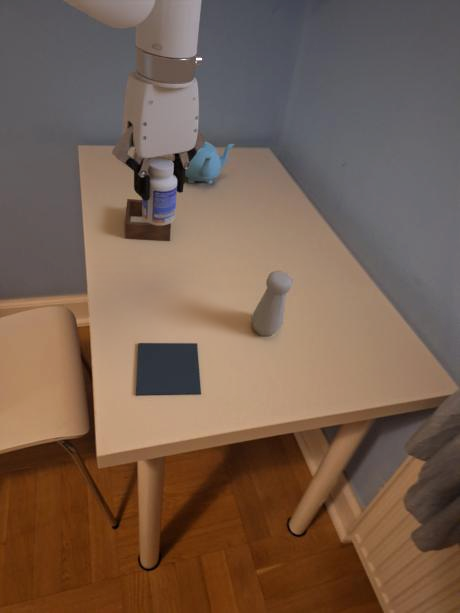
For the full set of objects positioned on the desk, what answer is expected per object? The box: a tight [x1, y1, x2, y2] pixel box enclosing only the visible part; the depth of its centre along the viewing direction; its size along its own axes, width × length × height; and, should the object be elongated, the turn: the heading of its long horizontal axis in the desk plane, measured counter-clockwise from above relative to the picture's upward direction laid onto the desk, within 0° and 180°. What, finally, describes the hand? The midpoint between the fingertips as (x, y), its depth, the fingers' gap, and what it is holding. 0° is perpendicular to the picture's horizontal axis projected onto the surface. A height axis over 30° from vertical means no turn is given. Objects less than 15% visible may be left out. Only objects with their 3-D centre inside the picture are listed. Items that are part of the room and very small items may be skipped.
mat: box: [135, 342, 202, 397], centre depth 66 cm, size 10×10×1 cm
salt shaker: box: [251, 270, 294, 337], centre depth 71 cm, size 6×6×13 cm
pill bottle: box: [141, 156, 178, 226], centre depth 64 cm, size 5×5×10 cm
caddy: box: [124, 198, 172, 242], centre depth 91 cm, size 10×10×4 cm
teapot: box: [172, 127, 236, 184], centre depth 108 cm, size 13×13×10 cm
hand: (159, 191), depth 64 cm, fingers closed on pill bottle, 5 cm apart
